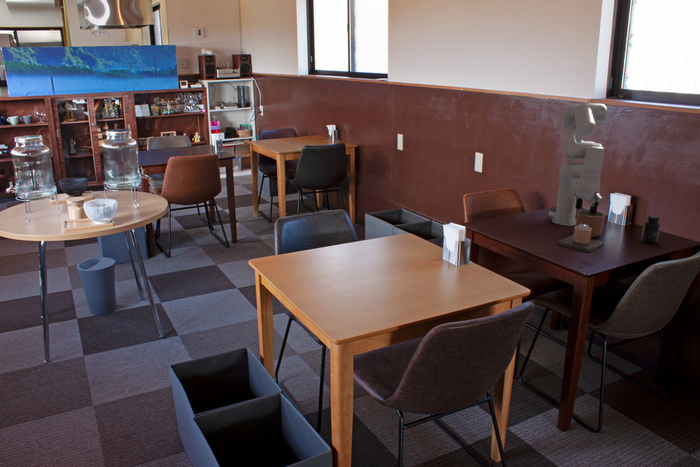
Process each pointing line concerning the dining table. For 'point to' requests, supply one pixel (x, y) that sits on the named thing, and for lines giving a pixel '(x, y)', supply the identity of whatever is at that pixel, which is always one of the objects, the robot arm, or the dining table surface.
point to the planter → (591, 221)
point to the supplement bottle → (651, 229)
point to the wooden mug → (582, 235)
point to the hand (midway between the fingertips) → (585, 211)
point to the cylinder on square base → (581, 246)
